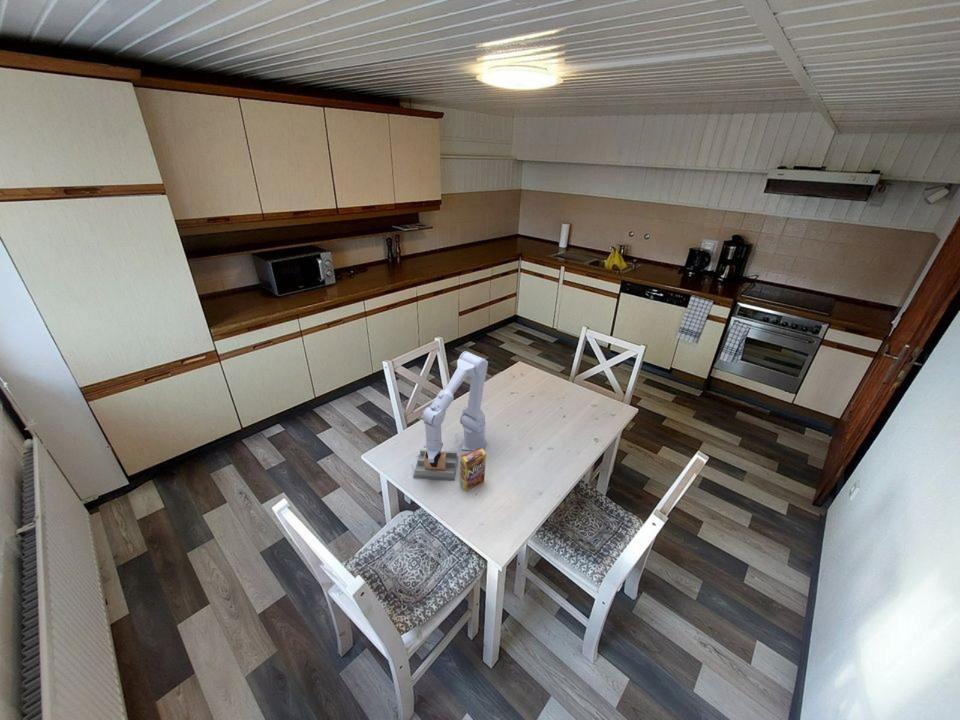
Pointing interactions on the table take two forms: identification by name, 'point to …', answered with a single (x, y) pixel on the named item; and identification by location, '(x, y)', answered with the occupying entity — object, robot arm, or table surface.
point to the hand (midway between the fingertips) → (434, 463)
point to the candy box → (472, 468)
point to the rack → (435, 474)
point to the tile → (440, 466)
